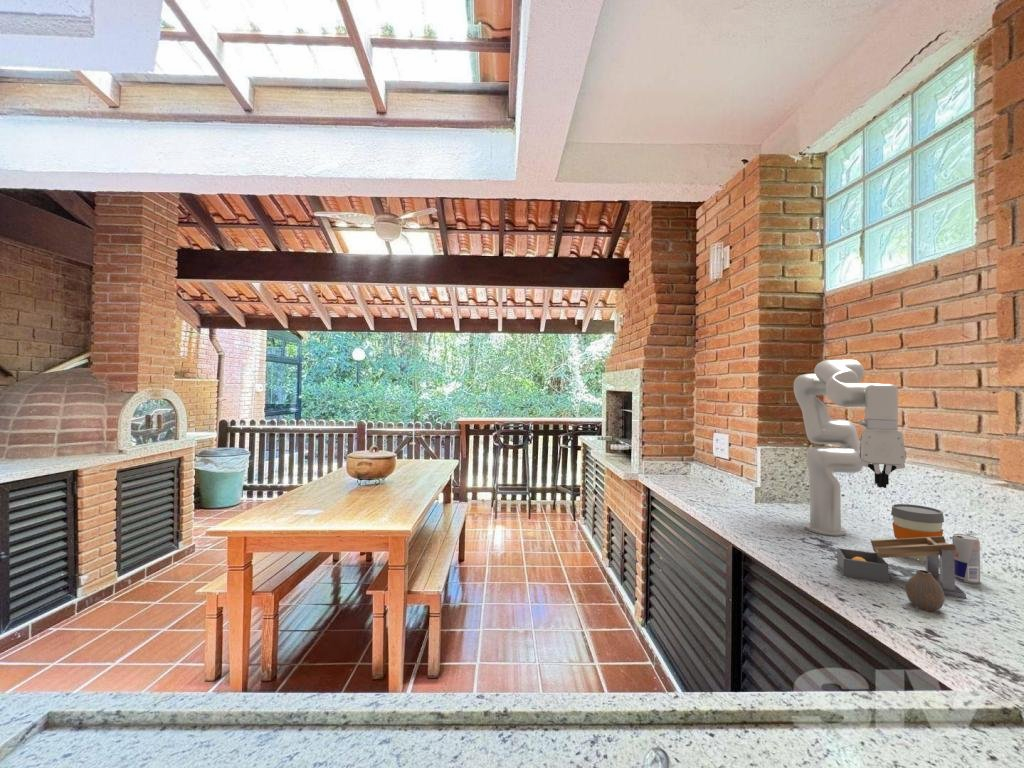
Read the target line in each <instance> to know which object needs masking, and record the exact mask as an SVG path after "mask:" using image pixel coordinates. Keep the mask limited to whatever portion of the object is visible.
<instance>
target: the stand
mask: <svg viewBox="0 0 1024 768" xmlns="http://www.w3.org/2000/svg"><path fill="white" fill-rule="evenodd" d="M924 562H925V571H929V572H930V573H931V574H932V576H933V577H934V579H935V580H936V581H937V582H938V583H939V584H940V586H941V587H942V589H943V592H944V596H948V597H949V596H950V597H954V598H955V597H956V598H963V599H967V594H966V593H965V592H964V591H963V590H962V589H961V588H960V587H958V585H956V579H955V560H954V552H953V551H951V550H943V549H940V555H930V556H925V561H924ZM918 570H919V569H918ZM918 570H917V569H916V570H915V574H916V573H917V571H918Z"/></svg>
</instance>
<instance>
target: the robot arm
mask: <svg viewBox="0 0 1024 768" xmlns="http://www.w3.org/2000/svg"><path fill="white" fill-rule="evenodd" d="M813 372H814V373H805V374H800V375H798V376H797V377H795V379H794V381H793V393H794V397H795V400H796V402H797V403H798V405H799V407H800V410H801V413H802V419H803V424H804V429H805V433H806V434H805V435H806V438H807V440H808V441H809V442H811V443H812V444H819V445H820V446H819V445H818V446H814V447H810V448H809V449H808V450H807V451H806V457H805V458H806V464H807V469H808V475H809V476H808V479H809V522H808V523H805V527H804V528H805V530H807V531H809V532H813V533H815V534H819V535H823V536H824V535H825V536H834V537H835V536H836V537H838V536H839V537H840V536H845V535H846V534H847V530H846V528H843V527H842V516H841V515H842V513H841V512H842V510H841V506H842V504H841V502H842V500H841V494H842V493H841V485H840V482H839V480H838V478H836V477H835V476H834V473H842V474H843V473H847V474H848V473H849V474H852V473H853V474H854V473H859V472H861V471H862V470H863V469H864V468H868V469H870V470H871V471H873V472H874V484H875V485H876V486H877V487H878V488H884V489H887V486H888V485H889V481H890V480H889V479H890V477H889V475H890V474H891V473H893V472H894V471H895V470H901V469H905V468H906V464H905V463H906V458H907V457H906V448H905V446H906V445H905V439H904V435H903V431H902V430H899V399H898V398H899V389H898V387H897V386H896V385H895V384H891V383H879V382H877V383H875V382H874V383H873V382H868V383H867V382H861V381H862V379H863V377H864V374H865V369H864V367H863V365H862V363H861V362H859V361H858V360H856V359H826V360H822V361H820V362H818V363H817V364H816V365H815V367H814V370H813ZM817 396H827V398H828V399H829V401H831V402H832V403H833V404H836V405H837V406H839V407H843V408H844V407H845V408H849V407H850V408H862V407H863V408H864V409H865V410H864V411H865V412H864V413H865V415H864V417H865V418H864V420H859V422H858V423H859V426H862V427H864V428H862V430H861V435H860V439H859V435H858V432H857V431H858V430H857V428H856V426H855V425H854V424H853V422H852V421H849V420H847V419H836V418H834V419H833V418H831V417H830V415H829V409H828V406H827V405H826V404H825V402H823V401H822V400H821V399H820V398H818V397H817ZM823 445H826V446H823ZM831 445H838V446H831ZM880 465H883V467H882V471H881V470H880Z"/></svg>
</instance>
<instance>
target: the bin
mask: <svg viewBox="0 0 1024 768" xmlns="http://www.w3.org/2000/svg"><path fill="white" fill-rule="evenodd" d="M854 557H861V558H863V559H865V560H866V561H867V562H866V561H859V560H852V558H854ZM837 564H838V565H837ZM836 565H837V567H838V566H839V567H838V568H840V569H839V570H841V571H840V573H841V575H842V576H843V577H844V576H847V577H846V578H849V577H852V578H851V579H856V578H857V580H862V579H863V581H870V582H876V583H883V584H889V564H888V563H887V562H886V560H885V559H884V558H880V557H879V556H878V555H877V554H876V552H870V551H863V550H855V549H848V548H841V547H836Z"/></svg>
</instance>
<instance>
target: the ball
mask: <svg viewBox="0 0 1024 768" xmlns="http://www.w3.org/2000/svg"><path fill="white" fill-rule="evenodd" d="M852 560H859V561H866V560H865V559H863V558H861V557H854V558H852ZM866 562H867V561H866Z"/></svg>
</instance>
